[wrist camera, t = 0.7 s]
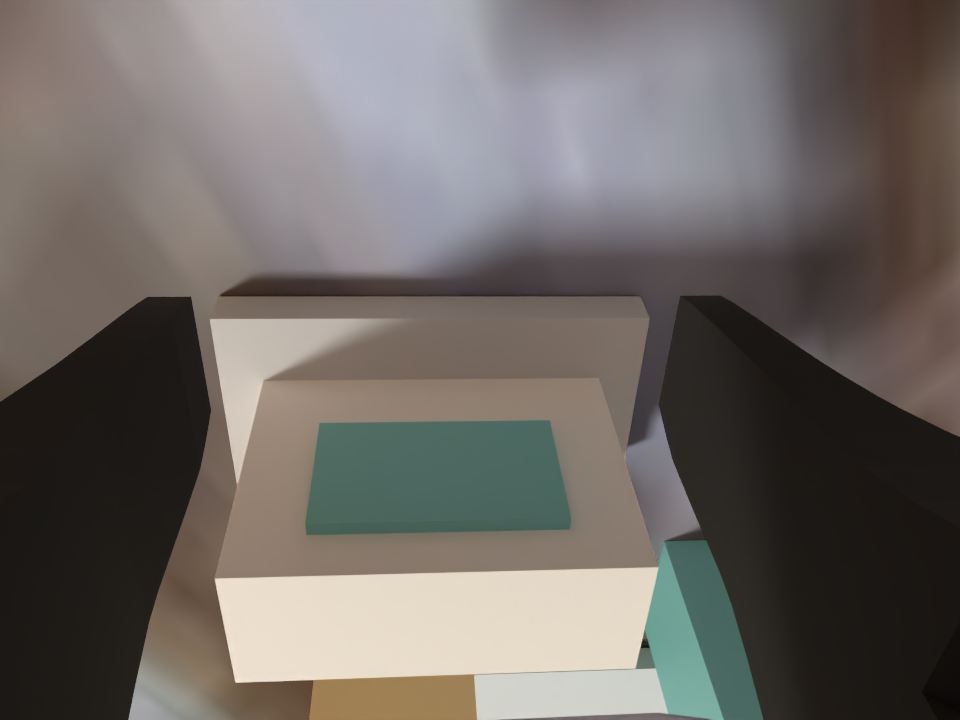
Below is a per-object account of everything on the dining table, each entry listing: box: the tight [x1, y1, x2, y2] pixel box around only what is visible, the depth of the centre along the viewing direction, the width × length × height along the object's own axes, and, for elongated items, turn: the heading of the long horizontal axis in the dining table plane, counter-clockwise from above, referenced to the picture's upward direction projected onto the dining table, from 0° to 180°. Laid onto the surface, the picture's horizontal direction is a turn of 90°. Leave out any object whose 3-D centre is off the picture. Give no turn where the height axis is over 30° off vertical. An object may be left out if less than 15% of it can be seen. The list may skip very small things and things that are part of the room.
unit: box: [210, 296, 659, 683], centre depth 19 cm, size 10×5×7 cm, turn 88°
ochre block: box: [309, 674, 477, 720], centre depth 23 cm, size 4×4×6 cm
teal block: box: [645, 540, 763, 720], centre depth 24 cm, size 4×4×6 cm
